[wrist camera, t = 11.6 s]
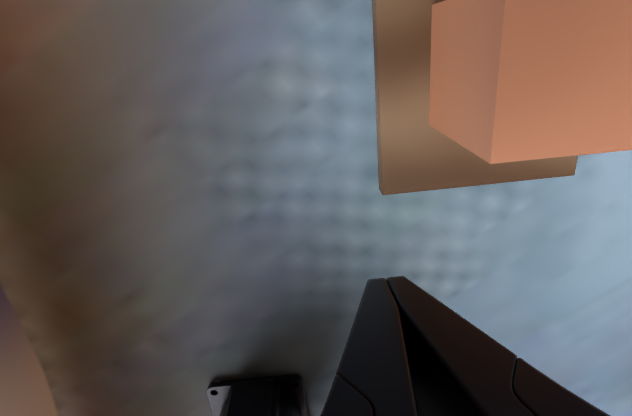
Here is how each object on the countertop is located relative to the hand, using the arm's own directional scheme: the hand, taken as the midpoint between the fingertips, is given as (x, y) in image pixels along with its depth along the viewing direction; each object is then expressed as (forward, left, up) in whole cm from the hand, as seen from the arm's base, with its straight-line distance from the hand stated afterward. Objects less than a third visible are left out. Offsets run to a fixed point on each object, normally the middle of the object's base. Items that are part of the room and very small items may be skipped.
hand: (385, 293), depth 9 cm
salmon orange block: (+4, -7, -11) cm, 14 cm away
